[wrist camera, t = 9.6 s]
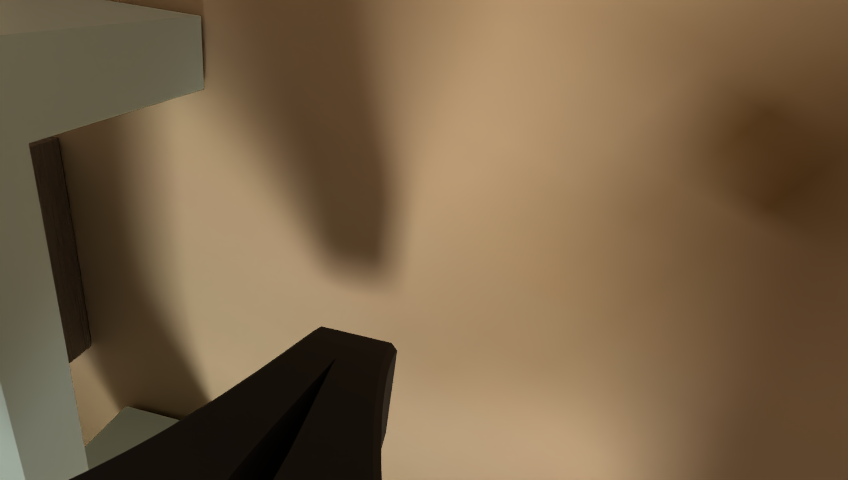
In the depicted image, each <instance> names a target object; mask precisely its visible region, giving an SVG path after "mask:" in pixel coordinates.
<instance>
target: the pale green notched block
mask: <svg viewBox="0 0 848 480" xmlns="http://www.w3.org/2000/svg"><path fill="white" fill-rule="evenodd" d="M203 89H204V79H203V55H202V31H201V16H199V15H193V14H187V13H181V12H175V11H169V10H163V9H157V8H151V7H145V6H139V5H133V4H127V3H121V2H115V1H108V0H0V480H69V479H71V478H73V477H75V476H77V475H79V474H82V473H84V472H86V471H88V470H90V469H92V468H94V467H96V466H98V465H100V464H102V463H104V462H106V461H108V460H110V459H112V458H114V457H116V456H117V455H119V454H121V453H123V452H125V451H127V450H129V449H131V448H133V447H134V446H136V445H138V444H140V443H142V442H144V441H145V440H147V439H149V438H151V437H153V436H154V435H156V434H158V433H160V432H161V431H163V430H165V429H167V428H168V427H170V426H172V425H173V424H175V423H176V422H178V421H180V420H177V419H173V418H169V417H166V416H162V415H158V414H154V413H150V412H147V411H143V410H139V409H135V408H132V407H128V406H126V407H125V408H124V409H123V410H122V411H121V412H120V413H119V414H118V415H117V416H116V417H115V418H114V419H113V420H112V421H111V422H110V423H109V424H108V425H107V426H106V427H105V428H104V429H103V430H102V431H101V432H100V433H99V434H98V435H97V436H96V437H95V438H94V439H93V440H92V441H91V442H90V443H89V444H88V445H87V446H86V447H85V448H84V442H83V437H82V431H81V426H80V420H79V415H78V410H77V404H76V399H75V393H74V388H73V382H72V377H71V371H70V366H69V361H68V355H67V350H66V344H65V339H64V333H63V328H62V323H61V317H60V312H59V306H58V301H57V295H56V290H55V284H54V279H53V274H52V268H51V263H50V257H49V252H48V246H47V241H46V236H45V230H44V225H43V219H42V214H41V208H40V203H39V197H38V192H37V187H36V181H35V176H34V170H33V165H32V159H31V154H30V149H29V143H31V142H34V141H38V140H41V139H44V138H47V137H51V136H54V135H57V134H60V133H63V132H67V131H70V130H73V129H76V128H80V127H83V126H86V125H89V124H93V123H96V122H99V121H102V120H106V119H109V118H112V117H115V116H118V115H122V114H125V113H128V112H131V111H135V110H138V109H141V108H144V107H148V106H151V105H154V104H157V103H161V102H164V101H167V100H170V99H173V98H177V97H180V96H183V95H186V94H190V93H193V92H196V91H199V90H203Z"/></svg>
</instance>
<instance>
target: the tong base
mask: <svg viewBox="0 0 848 480" xmlns="http://www.w3.org/2000/svg"><path fill="white" fill-rule="evenodd" d="M29 149H30V154H31V159H32V165H33V170H34V176H35V181H36V187H37V192H38V197H39V203H40V208H41V214H42V219H43V225H44V230H45V236H46V241H47V246H48V252H49V257H50V263H51V268H52V274H53V279H54V284H55V290H56V295H57V301H58V306H59V312H60V317H61V323H62V328H63V333H64V339H65V344H66V350H67V355H68V361H69V363H70V362H72V361H73V360H74V359H76V358H77V357H78V356H79V355H81V354H82V353H83V352H84V351H86V350H87V349H88V348H89V347H91V341H90V334H89V328H88V322H87V316H86V309H85V303H84V297H83V291H82V284H81V278H80V272H79V265H78V259H77V253H76V247H75V240H74V234H73V228H72V222H71V215H70V209H69V203H68V196H67V190H66V184H65V178H64V171H63V165H62V159H61V153H60V146H59V140H58V138H55V137H47V138H44V139H41V140H38V141H34V142H31V143H29Z"/></svg>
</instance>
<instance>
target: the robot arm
mask: <svg viewBox="0 0 848 480" xmlns="http://www.w3.org/2000/svg"><path fill="white" fill-rule="evenodd" d="M396 354H397V350H396V349H395V347H394V346H393V344H392V343H389V342H385V341H381V340H376V339H372V338H368V337H364V336H359V335H355V334H351V333H347V332H343V331H338V330H334V329H330V328H326V327H319V328H318V329H316V330H315V331H313V332H312V333H310V334H309V335H307V336H306V337H304V338H303V339H302V340H300V341H299V342H297V343H296V344H295V345H293V346H292V347H291V348H289V349H288V350H286V351H285V352H284V353H282V354H281V355H279V356H278V357H277V358H275V359H274V360H272V361H271V362H269V363H268V364H267V365H265V366H264V367H262V368H261V369H259V370H258V371H257V372H255V373H254V374H252V375H251V376H249V377H248V378H246V379H245V380H243V381H242V382H240V383H239V384H237V385H236V386H234V387H233V388H231V389H230V390H228V391H227V392H225V393H224V394H222V395H221V396H219V397H217V398H216V399H214V400H213V401H211V402H210V403H208V404H206V405H205V406H203V407H201V408H200V409H198V410H196V411H195V412H193V413H191V414H190V415H188V416H186V417H185V418H183V419H181V420H180V421H178V422H176V423H175V424H173V425H172V426H170V427H168V428H167V429H165V430H163V431H161V432H160V433H158V434H156V435H154V436H153V437H151V438H149V439H147V440H145V441H144V442H142V443H140V444H138V445H136V446H134V447H133V448H131V449H129V450H127V451H125V452H123V453H121V454H119V455H117V456H116V457H114V458H112V459H110V460H108V461H106V462H104V463H102V464H100V465H98V466H96V467H94V468H92V469H90V470H88V471H86V472H84V473H82V474H79V475H77V476H75V477H73V478H71V479H69V480H382V475H381V448H382V444H383V441H384V437H385V433H386V427H387V420H388V412H389V405H390V398H391V391H392V383H393V376H394V369H395V362H396Z"/></svg>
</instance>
